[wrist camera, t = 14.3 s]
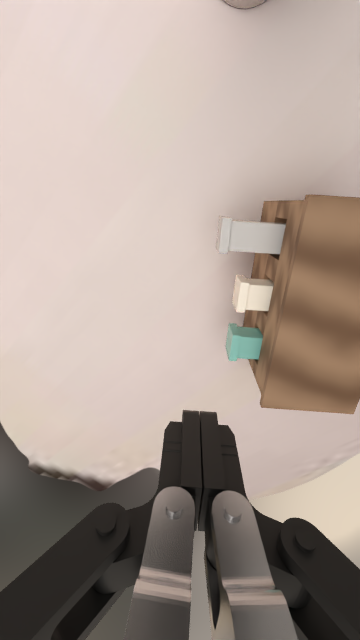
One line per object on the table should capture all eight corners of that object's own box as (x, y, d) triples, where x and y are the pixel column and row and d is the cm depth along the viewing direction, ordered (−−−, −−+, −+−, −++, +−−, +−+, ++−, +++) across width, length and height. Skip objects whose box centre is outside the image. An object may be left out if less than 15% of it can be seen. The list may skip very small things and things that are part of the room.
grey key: (219, 216, 33) (222, 217, 29) (292, 220, 33) (304, 223, 29) (215, 248, 34) (218, 253, 31) (285, 252, 34) (296, 258, 31)
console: (261, 198, 38) (309, 194, 23) (338, 203, 38) (438, 202, 23) (238, 340, 47) (261, 407, 32) (300, 345, 47) (353, 414, 32)
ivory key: (236, 274, 36) (241, 282, 32) (303, 279, 36) (315, 287, 32) (232, 301, 37) (236, 312, 34) (296, 306, 37) (307, 317, 34)
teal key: (228, 323, 38) (232, 335, 35) (291, 327, 38) (301, 340, 35) (225, 346, 40) (228, 360, 36) (285, 351, 40) (294, 365, 36)
